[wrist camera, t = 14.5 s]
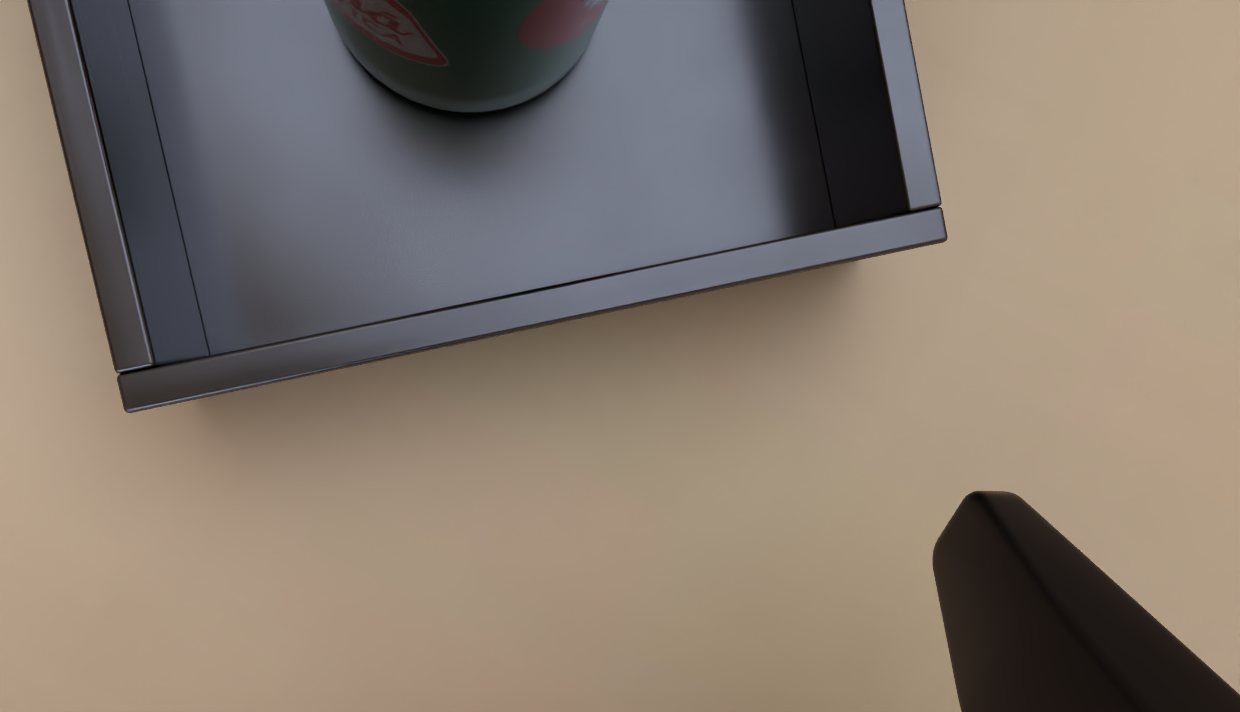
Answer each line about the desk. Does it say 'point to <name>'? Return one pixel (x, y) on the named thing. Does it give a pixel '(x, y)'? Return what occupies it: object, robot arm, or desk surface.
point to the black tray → (462, 177)
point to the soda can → (467, 46)
